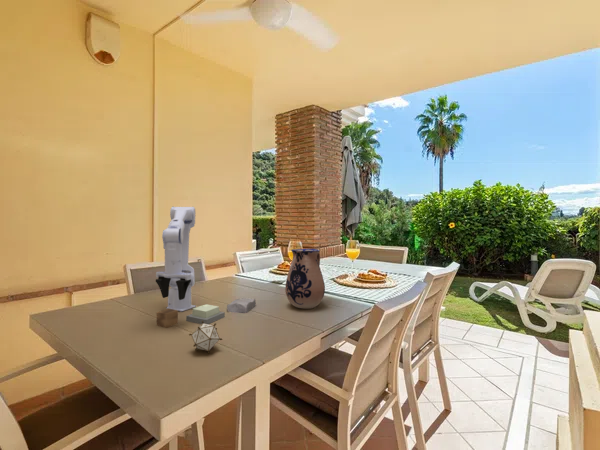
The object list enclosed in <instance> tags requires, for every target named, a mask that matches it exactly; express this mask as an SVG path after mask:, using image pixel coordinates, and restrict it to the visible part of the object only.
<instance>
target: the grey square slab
mask: <svg viewBox="0 0 600 450" xmlns="http://www.w3.org/2000/svg"><path fill="white" fill-rule="evenodd" d="M225 315H226V312H224V311H220V310H219V313H218V314H216V315H213V316H211V317H208V318H202V317H198V316H193V315H192V313H190V314H188V315H186V316H185V318H186V319H185V321H186V322H189V323H194V324H199V325H202V321H204V323H205V324H210V325H211V323H215V322H216V321H219V320H221V319H224V318H225Z"/></svg>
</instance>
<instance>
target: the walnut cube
mask: <svg viewBox="0 0 600 450" xmlns="http://www.w3.org/2000/svg"><path fill="white" fill-rule="evenodd" d="M178 315H179V311H178V310H173V309H166V308H165V309H163V310H160V311H157V312H156V327H160V328H164V329H168V328H170V327H172V326H175V325H177V324H178V323H179V322H178V321H179V318H178V317H179V316H178Z"/></svg>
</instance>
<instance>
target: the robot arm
mask: <svg viewBox="0 0 600 450" xmlns="http://www.w3.org/2000/svg"><path fill="white" fill-rule="evenodd" d="M169 210H170V215H169V216H170V222H169V223H168V225H167V228H165V229H163V231H162V234H161V235H162V236H161V238H162V239H161V240H162V242H163V243H162V244H163V249H164V271H156V272H155V278H157V279H155V283H156V284H157V286H158V288H159V290H160V294H161V296H162V299H165V298H167V307H166V308H165V309H173V310H178V312H184V311H187V310H191V309H193V308H196V307H197V305H194V304H192V287H194V285H195V283H196V282H195V281H196V278H195V277H196V275H195V272H196V271H195V268H194V267H193V266H191V265H190V264H189V254H190V253H189V250H190V249H189V248H190V233H191V229H192V228H194V227H195V224H196V208H195V206H171V208H170V209H169Z"/></svg>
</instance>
